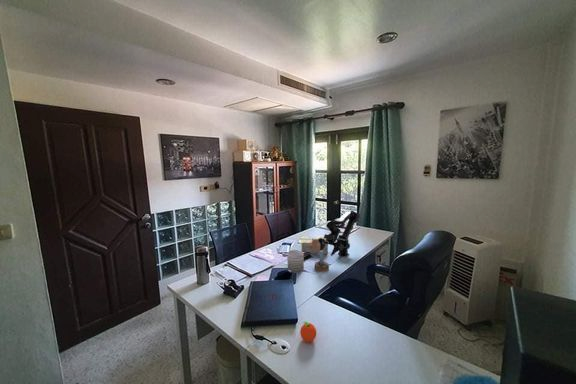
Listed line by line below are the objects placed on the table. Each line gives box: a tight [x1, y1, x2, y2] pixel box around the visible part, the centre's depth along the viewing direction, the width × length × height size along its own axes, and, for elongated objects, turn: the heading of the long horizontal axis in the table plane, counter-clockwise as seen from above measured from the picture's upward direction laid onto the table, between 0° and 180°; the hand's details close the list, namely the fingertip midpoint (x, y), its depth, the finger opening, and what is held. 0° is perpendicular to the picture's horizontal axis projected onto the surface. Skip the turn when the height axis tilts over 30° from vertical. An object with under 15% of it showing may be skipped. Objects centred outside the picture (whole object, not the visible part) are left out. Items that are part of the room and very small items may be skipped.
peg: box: [318, 250, 325, 266], centre depth 160 cm, size 3×3×12 cm
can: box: [286, 249, 305, 274], centre depth 160 cm, size 11×11×12 cm
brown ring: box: [314, 260, 330, 273], centre depth 161 cm, size 10×10×3 cm
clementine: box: [299, 321, 317, 343], centre depth 98 cm, size 8×7×7 cm
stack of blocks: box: [301, 236, 329, 255], centre depth 189 cm, size 21×6×12 cm, turn 85°
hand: (325, 254), depth 164 cm, fingers open, 9 cm apart
